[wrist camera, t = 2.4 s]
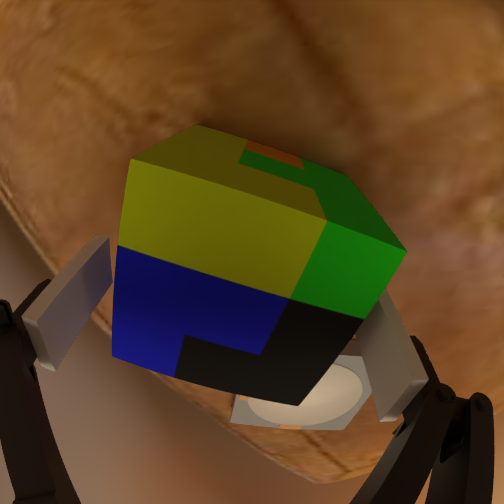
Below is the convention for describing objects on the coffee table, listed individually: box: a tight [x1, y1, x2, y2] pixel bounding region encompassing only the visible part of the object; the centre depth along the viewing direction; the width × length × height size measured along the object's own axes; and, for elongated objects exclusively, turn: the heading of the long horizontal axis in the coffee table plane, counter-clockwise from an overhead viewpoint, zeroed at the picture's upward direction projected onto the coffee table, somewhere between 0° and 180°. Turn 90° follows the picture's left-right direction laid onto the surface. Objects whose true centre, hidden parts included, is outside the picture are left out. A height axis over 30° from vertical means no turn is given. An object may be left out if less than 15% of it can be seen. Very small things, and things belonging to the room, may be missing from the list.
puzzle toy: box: [112, 124, 407, 406], centre depth 16 cm, size 10×10×10 cm
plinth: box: [230, 340, 372, 430], centre depth 28 cm, size 13×13×2 cm
